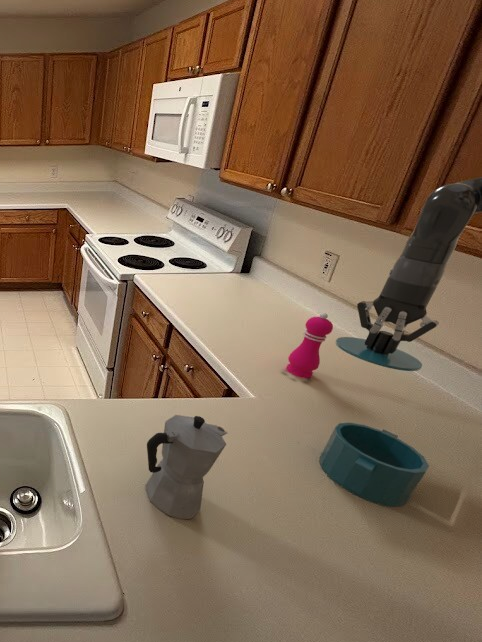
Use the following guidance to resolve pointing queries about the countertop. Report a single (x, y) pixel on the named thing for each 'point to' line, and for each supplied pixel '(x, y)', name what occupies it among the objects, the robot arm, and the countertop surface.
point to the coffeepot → (182, 464)
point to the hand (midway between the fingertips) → (377, 350)
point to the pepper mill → (309, 347)
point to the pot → (372, 464)
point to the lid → (379, 352)
